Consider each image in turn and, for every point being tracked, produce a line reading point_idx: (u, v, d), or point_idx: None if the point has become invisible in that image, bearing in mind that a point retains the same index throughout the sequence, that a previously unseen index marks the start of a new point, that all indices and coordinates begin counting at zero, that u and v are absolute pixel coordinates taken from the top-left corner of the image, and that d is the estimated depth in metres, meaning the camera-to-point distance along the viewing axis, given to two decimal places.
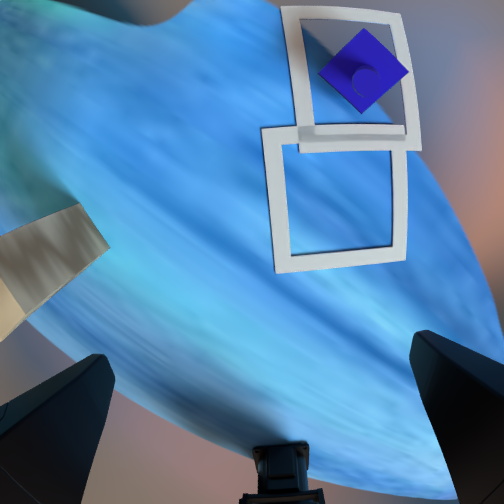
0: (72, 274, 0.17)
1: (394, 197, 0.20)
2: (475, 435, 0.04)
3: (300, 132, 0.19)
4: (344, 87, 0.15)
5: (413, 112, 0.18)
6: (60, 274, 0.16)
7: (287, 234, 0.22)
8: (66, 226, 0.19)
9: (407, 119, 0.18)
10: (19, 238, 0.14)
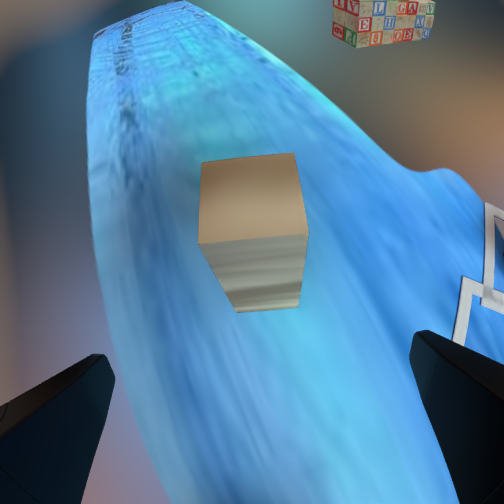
0: None
1: None
2: (475, 435, 0.04)
3: (484, 290, 0.20)
4: None
5: None
6: None
7: None
8: None
9: None
10: None
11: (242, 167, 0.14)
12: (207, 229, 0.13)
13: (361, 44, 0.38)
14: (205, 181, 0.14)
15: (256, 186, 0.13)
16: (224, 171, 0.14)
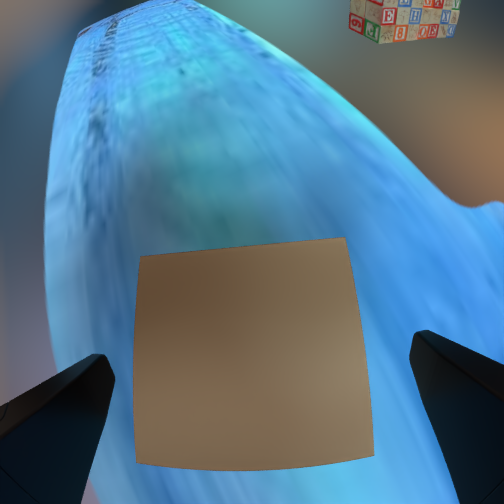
0: None
1: None
2: (475, 435, 0.04)
3: None
4: None
5: None
6: None
7: None
8: None
9: None
10: None
11: (227, 278, 0.06)
12: (152, 435, 0.05)
13: (384, 39, 0.30)
14: (145, 309, 0.06)
15: (259, 334, 0.06)
16: (186, 286, 0.06)
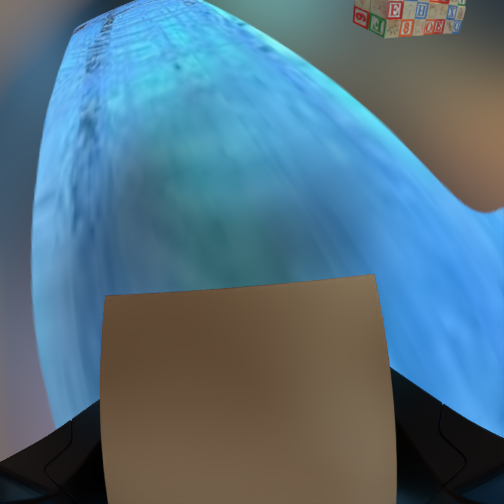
0: None
1: None
2: None
3: None
4: None
5: None
6: None
7: None
8: None
9: None
10: None
11: (216, 331, 0.04)
12: None
13: (390, 34, 0.29)
14: (111, 368, 0.04)
15: (259, 409, 0.04)
16: (161, 340, 0.04)
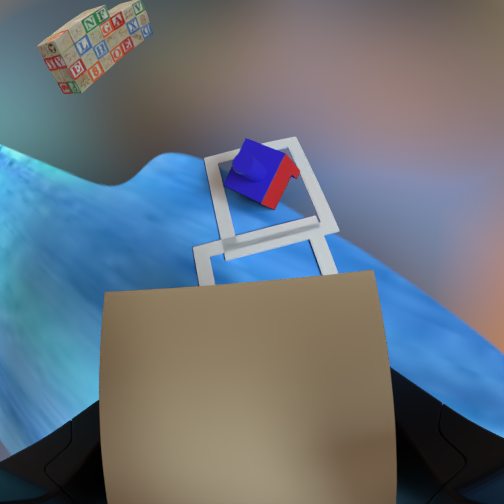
0: None
1: None
2: None
3: (225, 244, 0.25)
4: (243, 188, 0.23)
5: (322, 202, 0.25)
6: None
7: None
8: None
9: (317, 209, 0.25)
10: None
11: (216, 328, 0.04)
12: None
13: (85, 86, 0.40)
14: (111, 364, 0.04)
15: (257, 405, 0.04)
16: (161, 336, 0.04)
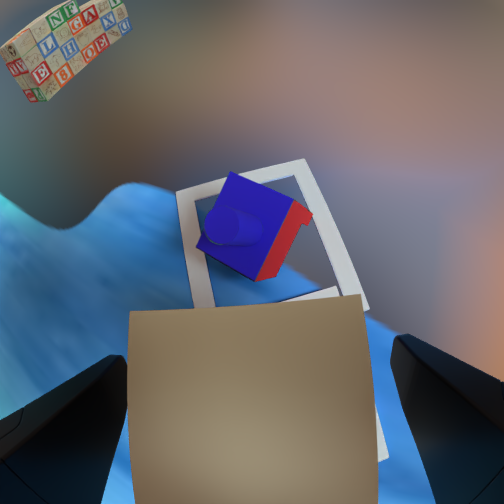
0: None
1: None
2: (452, 445, 0.04)
3: None
4: (226, 254, 0.15)
5: (345, 264, 0.17)
6: None
7: None
8: None
9: (338, 276, 0.17)
10: None
11: (228, 342, 0.05)
12: (152, 499, 0.04)
13: (51, 93, 0.32)
14: (137, 373, 0.05)
15: (263, 406, 0.05)
16: (181, 349, 0.05)
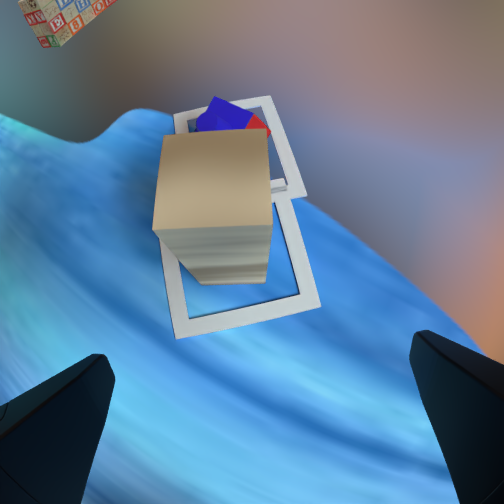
0: (267, 260, 0.16)
1: (288, 243, 0.22)
2: (475, 435, 0.04)
3: None
4: None
5: (291, 165, 0.24)
6: None
7: (182, 296, 0.21)
8: None
9: (285, 172, 0.24)
10: None
11: (207, 143, 0.12)
12: (163, 213, 0.11)
13: (64, 40, 0.33)
14: (165, 157, 0.12)
15: (220, 165, 0.12)
16: (187, 146, 0.12)
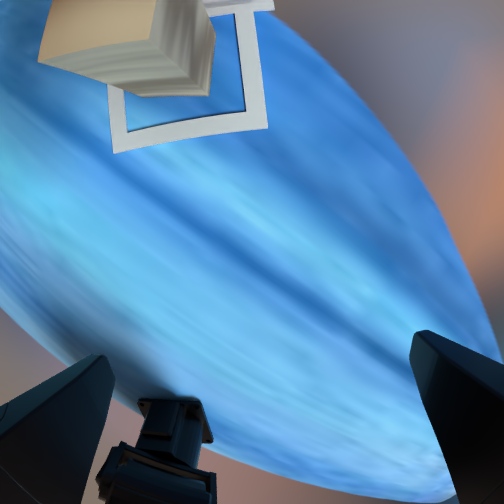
0: (188, 74, 0.12)
1: (241, 56, 0.16)
2: (475, 435, 0.04)
3: None
4: None
5: None
6: (184, 59, 0.11)
7: (122, 109, 0.17)
8: (205, 34, 0.13)
9: None
10: None
11: None
12: (48, 43, 0.07)
13: None
14: None
15: None
16: None
